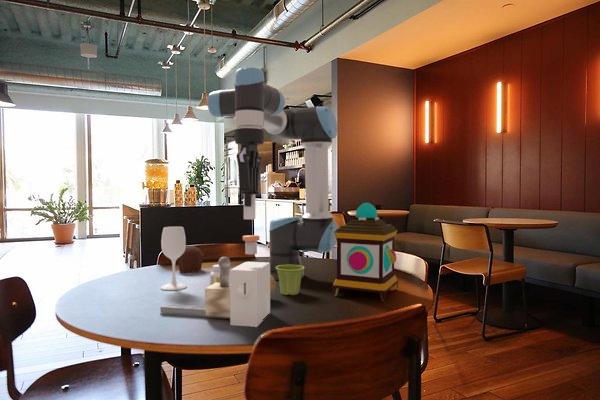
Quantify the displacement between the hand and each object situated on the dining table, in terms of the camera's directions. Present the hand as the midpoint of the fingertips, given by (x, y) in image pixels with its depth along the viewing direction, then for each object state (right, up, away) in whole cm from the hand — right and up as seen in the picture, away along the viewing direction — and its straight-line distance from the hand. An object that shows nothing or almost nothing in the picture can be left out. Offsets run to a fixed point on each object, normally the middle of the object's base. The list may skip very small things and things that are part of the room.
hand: (249, 219), depth 108 cm
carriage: (-7, -25, +2) cm, 26 cm away
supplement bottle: (-13, -26, +24) cm, 38 cm away
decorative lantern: (+35, -26, +28) cm, 52 cm away
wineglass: (-30, -26, +35) cm, 53 cm away
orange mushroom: (0, -9, 0) cm, 9 cm away
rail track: (-14, -26, +4) cm, 30 cm away
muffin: (-33, -25, +64) cm, 77 cm away
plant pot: (+10, -26, +27) cm, 39 cm away
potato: (-1, -26, +18) cm, 32 cm away
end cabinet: (0, -26, +1) cm, 26 cm away
